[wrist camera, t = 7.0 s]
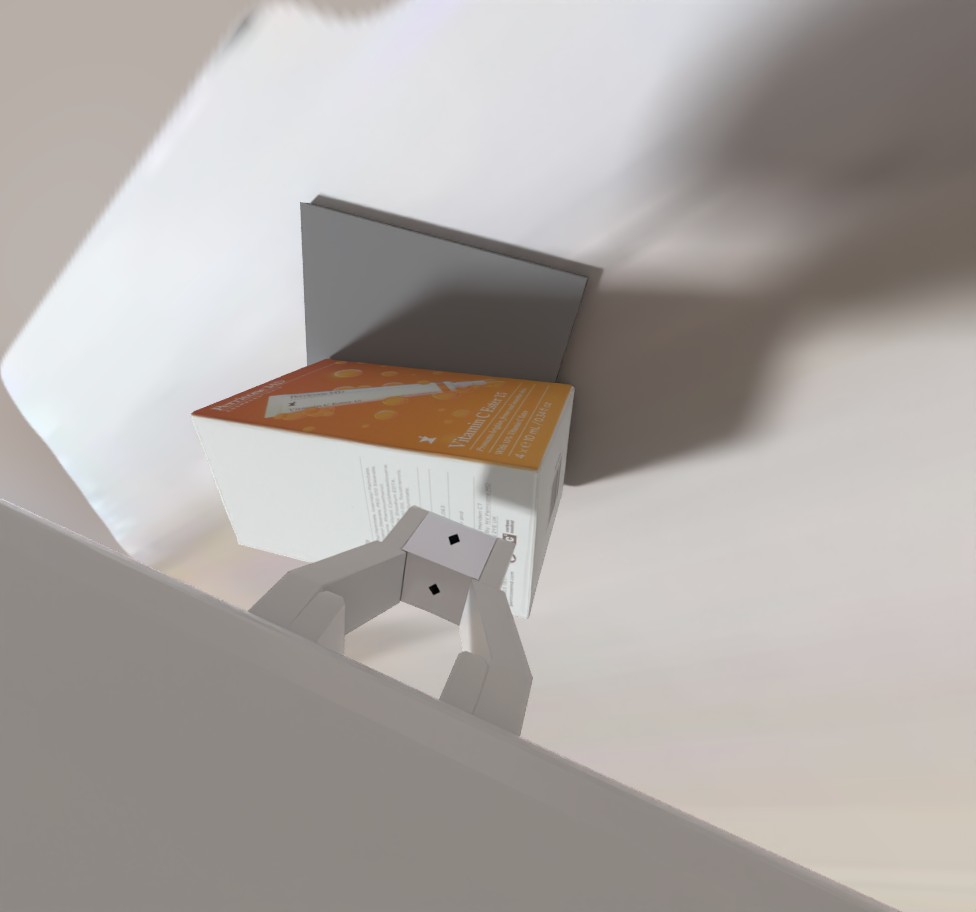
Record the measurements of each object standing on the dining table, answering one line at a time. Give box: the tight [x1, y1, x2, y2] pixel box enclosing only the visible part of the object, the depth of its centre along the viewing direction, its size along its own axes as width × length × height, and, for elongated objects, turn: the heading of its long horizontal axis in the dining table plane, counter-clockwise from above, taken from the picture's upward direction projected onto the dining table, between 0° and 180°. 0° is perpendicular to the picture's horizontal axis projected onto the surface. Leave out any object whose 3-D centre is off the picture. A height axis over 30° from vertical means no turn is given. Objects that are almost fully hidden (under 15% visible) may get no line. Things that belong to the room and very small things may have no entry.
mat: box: [300, 202, 588, 383], centre depth 20 cm, size 13×12×1 cm
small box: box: [190, 358, 575, 619], centre depth 17 cm, size 8×6×13 cm
